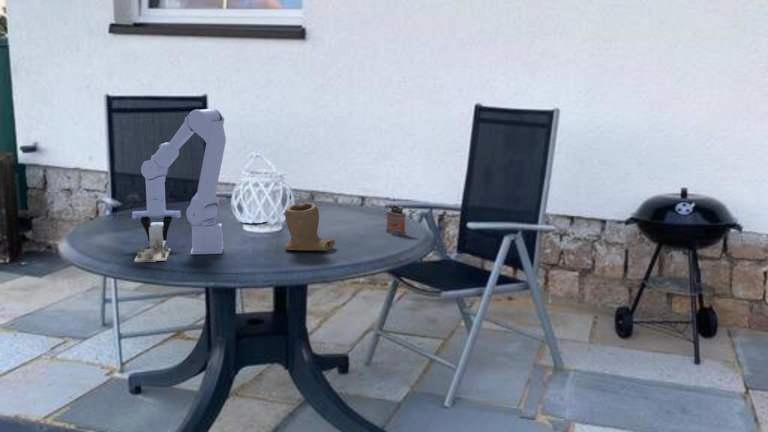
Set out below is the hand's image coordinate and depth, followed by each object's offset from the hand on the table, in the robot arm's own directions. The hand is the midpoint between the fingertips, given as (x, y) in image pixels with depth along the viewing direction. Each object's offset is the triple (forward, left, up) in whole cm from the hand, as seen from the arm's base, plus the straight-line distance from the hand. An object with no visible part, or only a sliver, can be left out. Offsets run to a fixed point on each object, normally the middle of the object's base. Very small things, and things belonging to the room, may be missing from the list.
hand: (157, 240), depth 252 cm
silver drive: (0, 0, -2) cm, 2 cm away
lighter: (-79, -11, -2) cm, 80 cm away
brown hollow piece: (-47, +11, -2) cm, 48 cm away
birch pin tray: (0, +13, -2) cm, 13 cm away
